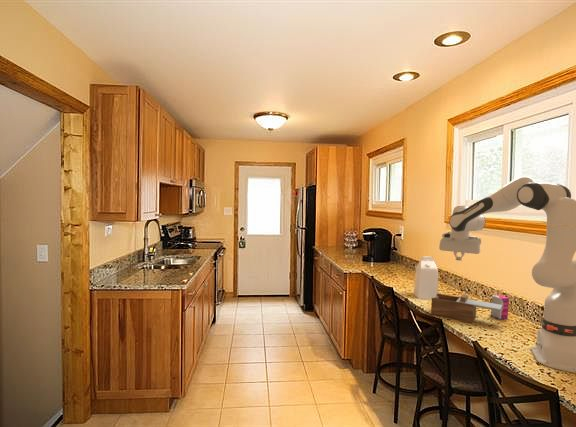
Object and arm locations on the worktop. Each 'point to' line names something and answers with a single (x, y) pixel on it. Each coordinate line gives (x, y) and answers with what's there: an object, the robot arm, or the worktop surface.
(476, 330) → the worktop surface
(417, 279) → the milk
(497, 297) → the supplement box
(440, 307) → the wooden box
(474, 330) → the worktop surface
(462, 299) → the lid
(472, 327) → the worktop surface
